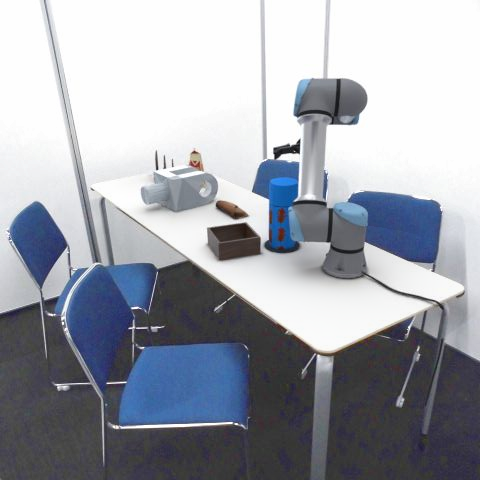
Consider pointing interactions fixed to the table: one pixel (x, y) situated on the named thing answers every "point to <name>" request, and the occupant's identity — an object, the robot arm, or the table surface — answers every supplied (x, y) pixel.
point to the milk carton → (196, 161)
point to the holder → (233, 241)
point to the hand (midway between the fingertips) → (292, 157)
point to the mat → (282, 250)
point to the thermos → (281, 211)
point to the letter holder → (164, 162)
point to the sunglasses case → (231, 209)
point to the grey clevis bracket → (180, 188)
